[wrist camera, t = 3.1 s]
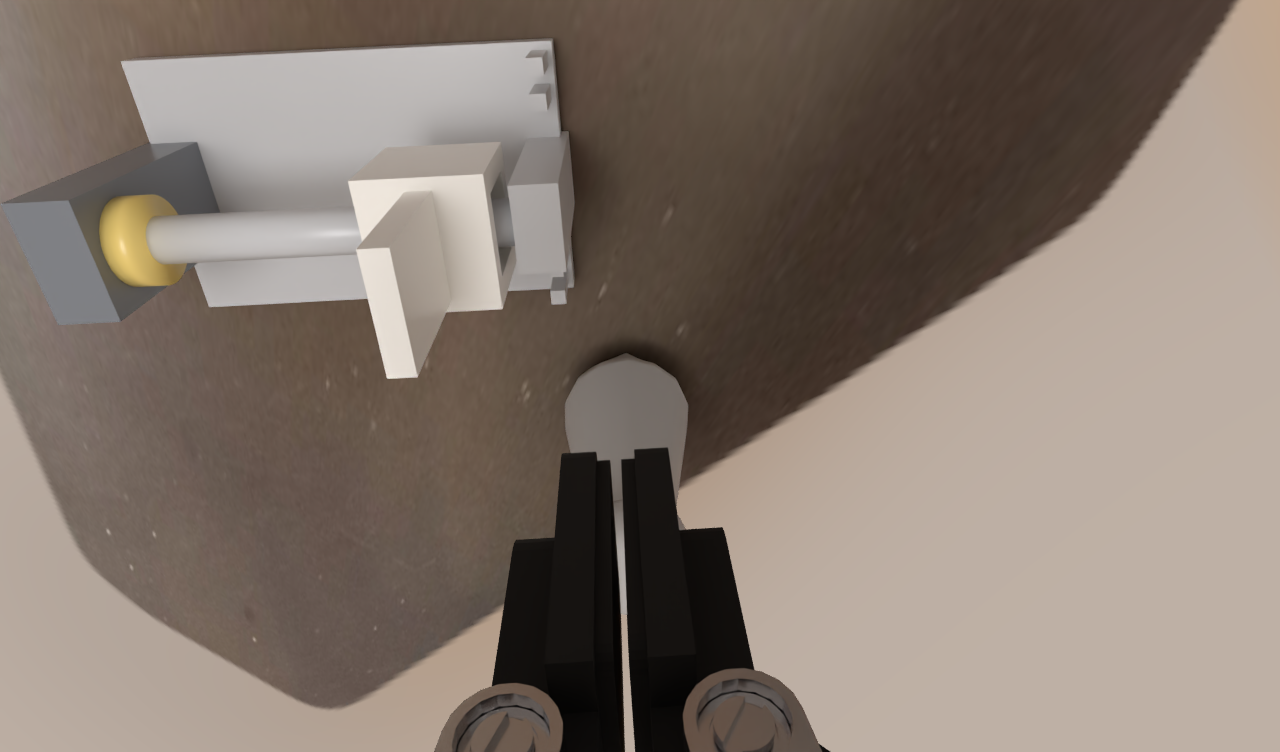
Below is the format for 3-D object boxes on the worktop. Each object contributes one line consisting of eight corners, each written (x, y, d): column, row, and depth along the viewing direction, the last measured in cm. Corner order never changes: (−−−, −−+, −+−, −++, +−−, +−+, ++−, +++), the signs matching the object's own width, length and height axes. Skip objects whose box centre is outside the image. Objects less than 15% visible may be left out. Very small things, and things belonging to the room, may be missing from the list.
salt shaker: (598, 318, 35) (596, 494, 23) (704, 365, 36) (750, 552, 25) (547, 413, 37) (523, 613, 26) (648, 453, 39) (667, 660, 27)
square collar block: (500, 141, 26) (453, 228, 18) (516, 260, 28) (479, 386, 20) (385, 147, 26) (284, 237, 18) (410, 266, 28) (330, 395, 20)
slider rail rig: (560, 37, 29) (544, 68, 21) (581, 278, 34) (574, 376, 26) (130, 58, 28) (-50, 97, 21) (214, 298, 33) (95, 403, 25)
